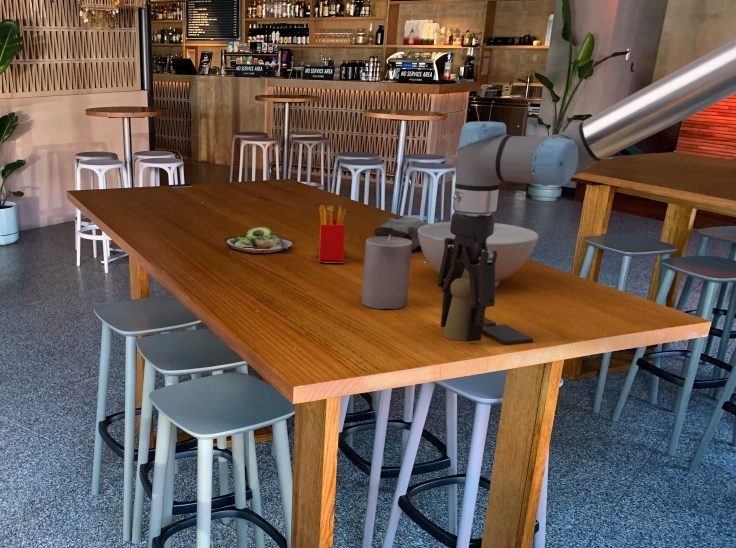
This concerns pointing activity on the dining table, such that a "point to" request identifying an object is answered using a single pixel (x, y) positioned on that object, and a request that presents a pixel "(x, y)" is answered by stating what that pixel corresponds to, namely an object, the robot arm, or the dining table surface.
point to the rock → (401, 228)
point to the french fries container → (331, 235)
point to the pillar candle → (386, 272)
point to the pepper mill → (458, 310)
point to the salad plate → (259, 241)
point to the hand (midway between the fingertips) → (460, 333)
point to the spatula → (504, 333)
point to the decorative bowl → (505, 240)
